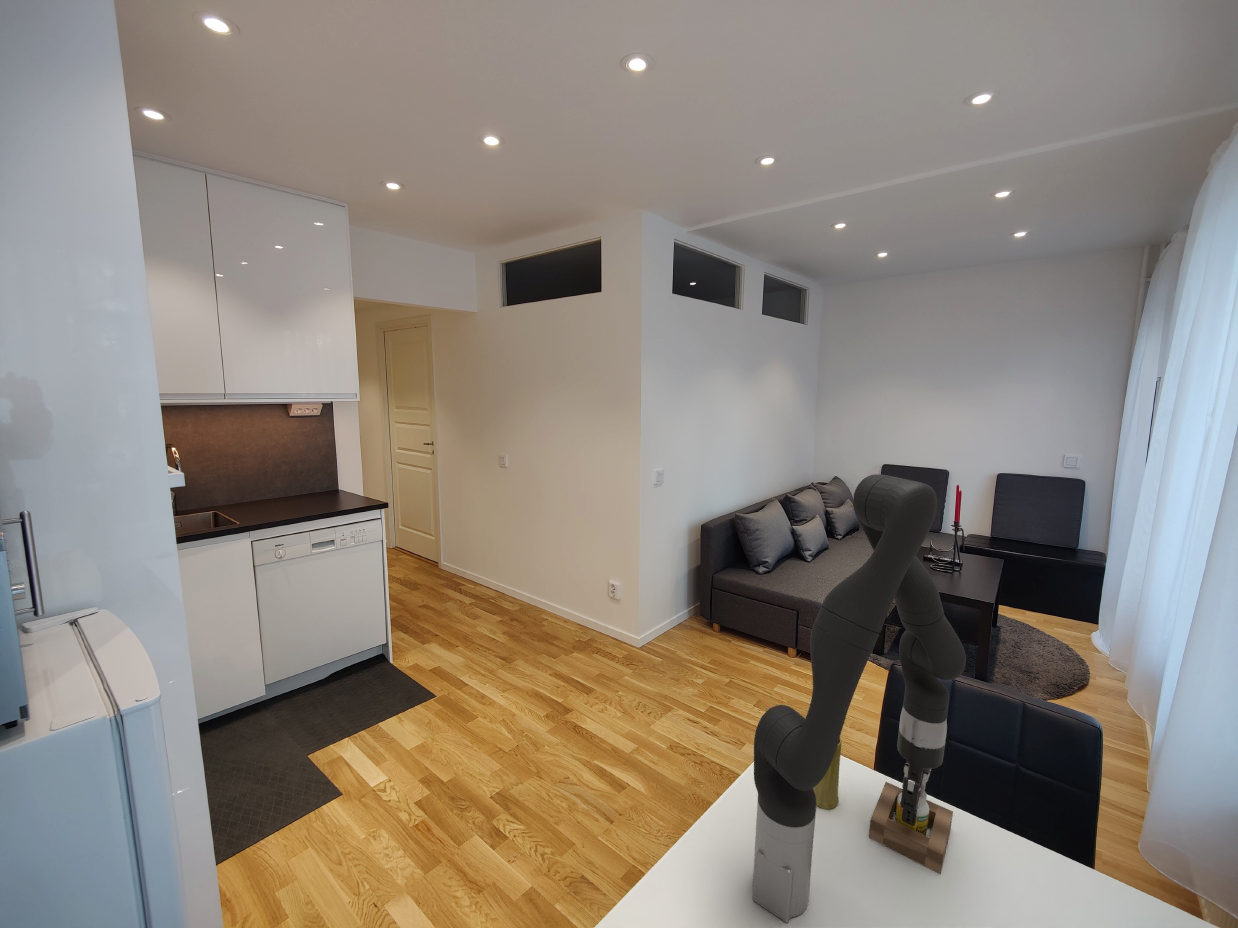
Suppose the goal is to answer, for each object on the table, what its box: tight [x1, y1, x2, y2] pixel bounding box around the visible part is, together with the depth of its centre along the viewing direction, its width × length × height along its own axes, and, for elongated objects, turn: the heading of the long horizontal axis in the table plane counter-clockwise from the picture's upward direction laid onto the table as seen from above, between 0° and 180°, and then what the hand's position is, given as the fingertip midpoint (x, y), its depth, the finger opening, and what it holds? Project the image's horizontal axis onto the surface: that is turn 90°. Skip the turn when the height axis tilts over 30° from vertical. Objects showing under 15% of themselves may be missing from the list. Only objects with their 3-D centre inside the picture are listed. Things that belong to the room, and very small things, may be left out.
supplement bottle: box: [894, 788, 929, 836], centre depth 102 cm, size 5×5×10 cm
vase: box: [813, 737, 843, 810], centre depth 110 cm, size 6×6×14 cm
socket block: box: [868, 781, 954, 875], centre depth 102 cm, size 12×12×4 cm
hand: (913, 807), depth 102 cm, fingers open, 8 cm apart
